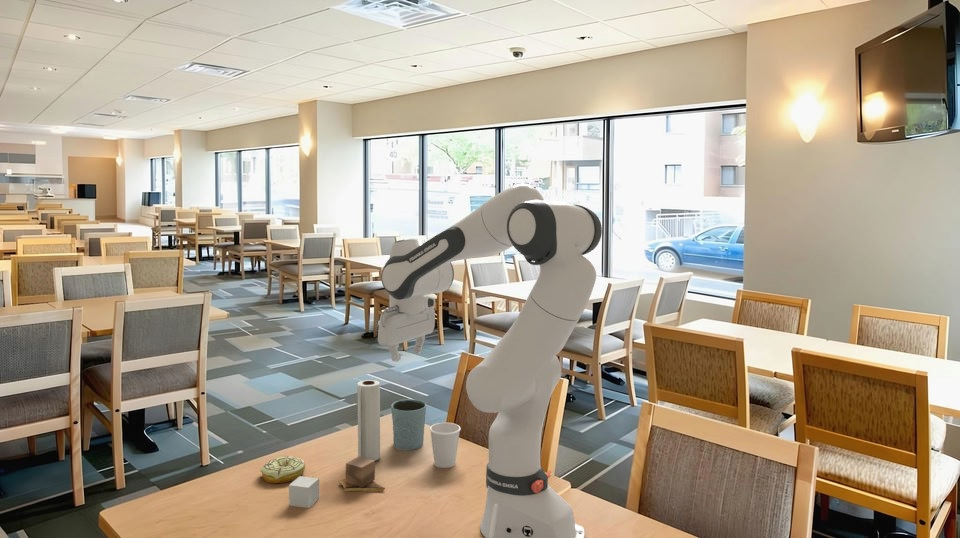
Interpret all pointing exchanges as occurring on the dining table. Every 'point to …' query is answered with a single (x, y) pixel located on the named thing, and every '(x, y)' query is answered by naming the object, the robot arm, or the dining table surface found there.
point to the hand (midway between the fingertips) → (407, 356)
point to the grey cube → (304, 492)
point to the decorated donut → (283, 469)
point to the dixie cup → (445, 443)
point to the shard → (369, 487)
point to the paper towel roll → (369, 419)
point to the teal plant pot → (408, 423)
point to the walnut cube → (360, 471)
